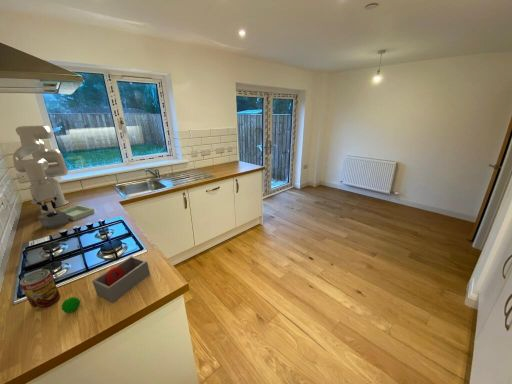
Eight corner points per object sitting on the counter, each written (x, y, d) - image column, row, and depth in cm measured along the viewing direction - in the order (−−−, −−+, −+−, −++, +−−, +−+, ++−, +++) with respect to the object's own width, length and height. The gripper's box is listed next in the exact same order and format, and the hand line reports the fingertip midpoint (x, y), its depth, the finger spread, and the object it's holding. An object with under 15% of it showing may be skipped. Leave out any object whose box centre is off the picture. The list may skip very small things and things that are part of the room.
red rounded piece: (115, 293, 85) (110, 277, 82) (108, 289, 87) (103, 273, 84) (142, 273, 95) (138, 258, 92) (135, 270, 97) (131, 256, 94)
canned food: (42, 313, 76) (29, 287, 72) (27, 308, 78) (13, 282, 74) (65, 296, 83) (55, 271, 79) (51, 292, 85) (40, 267, 81)
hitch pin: (46, 218, 136) (39, 199, 131) (55, 215, 140) (48, 197, 135) (50, 220, 134) (43, 201, 129) (60, 217, 138) (52, 198, 133)
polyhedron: (84, 303, 80) (80, 293, 79) (76, 314, 76) (72, 304, 74) (69, 305, 79) (65, 295, 78) (60, 316, 75) (55, 306, 73)
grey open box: (97, 295, 84) (92, 280, 81) (135, 268, 98) (131, 255, 95) (113, 303, 80) (108, 288, 77) (150, 274, 94) (147, 261, 92)
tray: (59, 215, 150) (57, 211, 149) (80, 208, 161) (78, 204, 160) (74, 220, 143) (72, 216, 142) (94, 212, 154) (93, 208, 153)
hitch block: (42, 226, 136) (37, 216, 134) (60, 219, 145) (57, 210, 142) (50, 229, 132) (46, 219, 130) (69, 222, 141) (65, 212, 138)
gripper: (52, 177, 137) (62, 203, 143) (17, 185, 123) (29, 213, 129) (59, 178, 134) (68, 205, 141) (24, 186, 120) (36, 216, 126)
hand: (50, 209), depth 135 cm, fingers closed on hitch pin, 3 cm apart
